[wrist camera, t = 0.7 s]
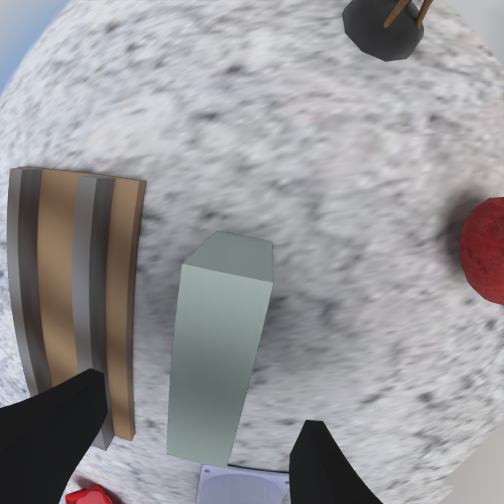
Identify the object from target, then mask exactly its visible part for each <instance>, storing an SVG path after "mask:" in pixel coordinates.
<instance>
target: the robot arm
mask: <svg viewBox="0 0 504 504" xmlns="http://www.w3.org/2000/svg"><path fill="white" fill-rule="evenodd" d="M107 414H108V405H107V397H106V388H105V377H104V373H102V372H99V371H97V370H94V369H91V368H89V369H87V370H85V371H83V372H81V373H79V374H77V375H76V376H74V377H72V378H70V379H68V380H66V381H64V382H62V383H60V384H59V385H57V386H55V387H53V388H51V389H49V390H47V391H44V392H42V393H40V394H38V395H35V396H33V397H31V398H28V399H26V400H24V401H21V402H18V403H15V404H12V405H9V406H6V407H2V408H0V504H59V502H60V499H61V496H62V494H63V492H64V490H65V488H66V485H67V483H68V481H69V479H70V477H71V475H72V474H73V472H74V470H75V469H76V467H77V466H78V464H79V463H80V461H81V459H82V458H83V456H84V455H85V453H86V452H87V450H88V449H89V447H90V446H91V444H92V443H93V441H94V439H95V438H96V436H97V435H98V433H99V431H100V429H101V427H102V425H103V423H104V420H105V418H106V416H107ZM289 488H290V498H291V504H383V503H382V502H381V501H380V500H379V499H378V498H377V497H376V496H375V495H374V494H373V493H372V492H371V490H370V489H369V488H368V487H367V486H366V485H365V483H364V482H363V481H362V480H361V478H360V477H359V476H358V475H357V473H356V472H355V471H354V469H353V468H352V466H351V465H350V463H349V462H348V461H347V459H346V458H345V456H344V455H343V453H342V452H341V450H340V448H339V447H338V445H337V444H336V442H335V440H334V439H333V437H332V435H331V434H330V432H329V430H328V429H327V427H326V425H325V424H324V422H323V421H315V420H306V421H305V423H304V425H303V428H302V430H301V432H300V434H299V436H298V438H297V441H296V443H295V445H294V447H293V449H292V451H291V453H290V464H289V474H285V473H275V472H265V471H257V470H250V469H243V468H237V467H231V466H227V468H223V467H218V466H213V465H208V464H204V463H203V464H202V468H201V474H200V480H199V486H198V492H197V498H196V504H281V501H282V500H283V498H284V497H285V495H286V493H287V492H288V490H289Z"/></svg>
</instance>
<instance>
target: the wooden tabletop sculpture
mask: <svg viewBox="0 0 504 504" xmlns="http://www.w3.org/2000/svg"><path fill="white" fill-rule="evenodd" d="M432 1H433V0H424V2H423V4H422V7H421V9H420V11H419V10H418V9H417V7H416V6H415V5H414V4H413V3H412V0H352V1H351V2H350V3H349V4H348V6H347V7H346V8H345V10H344V12H343V20H344V27H345V33H346V34H347V35H348V36H349V37H350V38H351V39H352V40H353V42H354V43H355V44H356V45H357V46H358V47H359V48H360V49H361V51H362V52H365V53H367V54H370V55H372V56H375V57H377V58H379V59H381V60H384V61H393V60H401V59H406V58H408V57H409V56H410V55H411V53H412V52H413V50H414V49H415V48H416V46H417V45H418V43H419V42H420V40H421V38H422V37H423V33H424V27H423V23H422V21H423V19H424V17H425V15H426V13H427V10H428V8H429V6H430V5H431V3H432Z"/></svg>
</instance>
